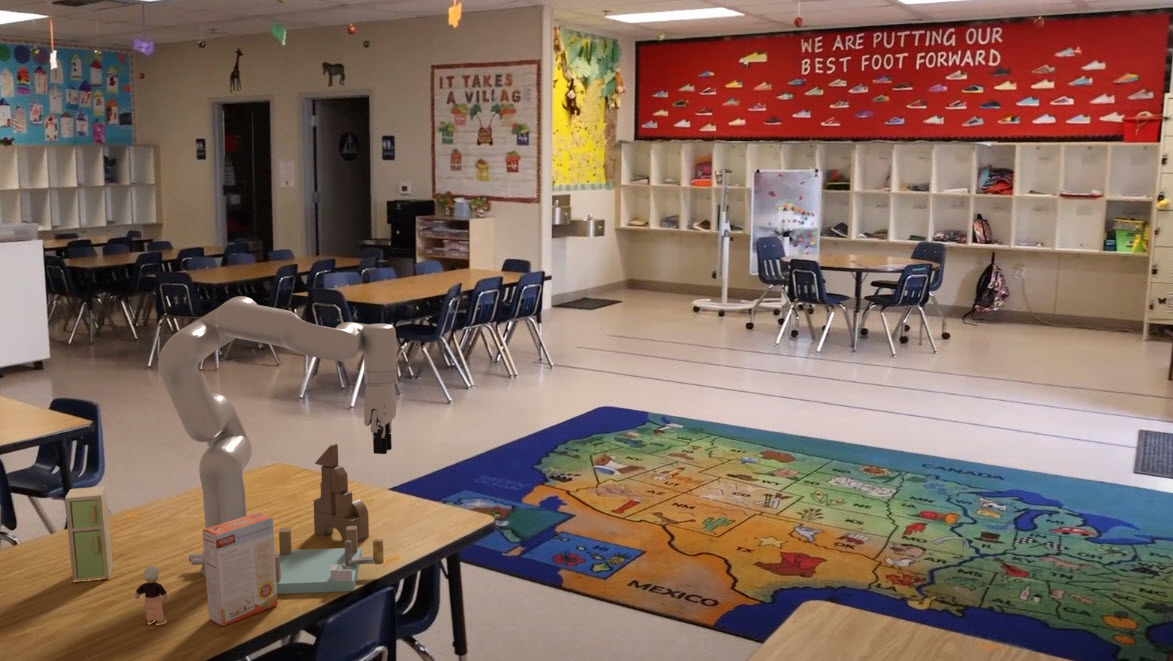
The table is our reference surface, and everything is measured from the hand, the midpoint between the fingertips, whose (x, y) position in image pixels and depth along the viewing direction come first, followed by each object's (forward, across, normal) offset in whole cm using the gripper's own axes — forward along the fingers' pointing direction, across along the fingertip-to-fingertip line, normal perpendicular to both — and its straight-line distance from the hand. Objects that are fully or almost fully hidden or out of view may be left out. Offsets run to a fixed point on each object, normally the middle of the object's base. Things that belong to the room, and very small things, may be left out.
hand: (382, 450), depth 253 cm
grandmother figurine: (+29, +37, -39) cm, 61 cm away
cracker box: (+29, +30, -22) cm, 47 cm away
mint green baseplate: (+29, +8, -15) cm, 34 cm away
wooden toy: (+29, -18, -19) cm, 39 cm away
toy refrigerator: (+29, +18, -66) cm, 74 cm away
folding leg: (+26, +6, -3) cm, 27 cm away
